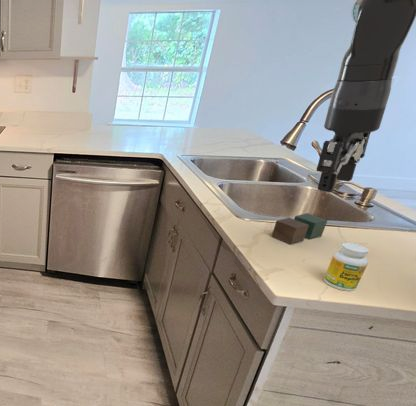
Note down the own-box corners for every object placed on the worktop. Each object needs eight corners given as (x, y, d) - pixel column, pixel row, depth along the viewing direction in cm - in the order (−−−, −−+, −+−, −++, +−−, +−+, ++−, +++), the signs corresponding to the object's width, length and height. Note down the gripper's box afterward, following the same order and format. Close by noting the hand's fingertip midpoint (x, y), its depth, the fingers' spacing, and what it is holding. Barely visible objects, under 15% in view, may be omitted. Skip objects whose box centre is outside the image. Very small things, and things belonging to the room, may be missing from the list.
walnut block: (303, 241, 99) (309, 225, 97) (290, 244, 97) (296, 228, 95) (283, 233, 103) (289, 217, 101) (271, 236, 102) (276, 220, 100)
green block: (321, 236, 101) (327, 220, 99) (309, 239, 99) (315, 223, 97) (301, 228, 105) (307, 213, 103) (289, 231, 104) (295, 215, 102)
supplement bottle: (345, 278, 83) (361, 242, 79) (362, 293, 78) (380, 254, 74) (317, 276, 84) (332, 240, 80) (332, 290, 79) (349, 252, 76)
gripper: (369, 112, 62) (343, 200, 68) (400, 98, 68) (374, 180, 74) (313, 109, 68) (294, 190, 74) (346, 97, 74) (326, 173, 80)
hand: (334, 185), depth 74 cm, fingers open, 8 cm apart
